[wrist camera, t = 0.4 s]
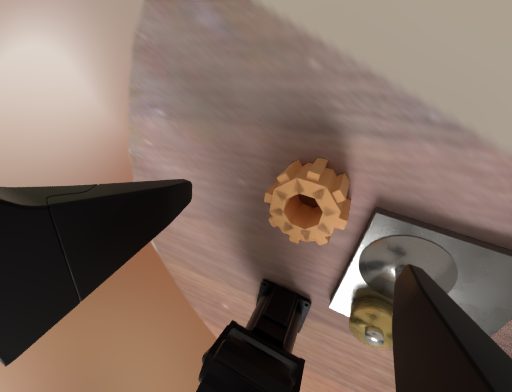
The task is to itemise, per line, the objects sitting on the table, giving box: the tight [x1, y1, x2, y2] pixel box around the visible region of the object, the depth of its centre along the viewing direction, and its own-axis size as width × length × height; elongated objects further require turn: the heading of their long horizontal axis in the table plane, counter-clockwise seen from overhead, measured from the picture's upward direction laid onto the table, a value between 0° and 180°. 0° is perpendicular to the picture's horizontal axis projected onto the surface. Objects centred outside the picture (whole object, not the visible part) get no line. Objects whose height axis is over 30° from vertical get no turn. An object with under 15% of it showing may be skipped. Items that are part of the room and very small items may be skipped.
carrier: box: [329, 208, 512, 349], centre depth 18 cm, size 13×12×6 cm
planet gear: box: [264, 158, 351, 245], centre depth 20 cm, size 7×7×4 cm
